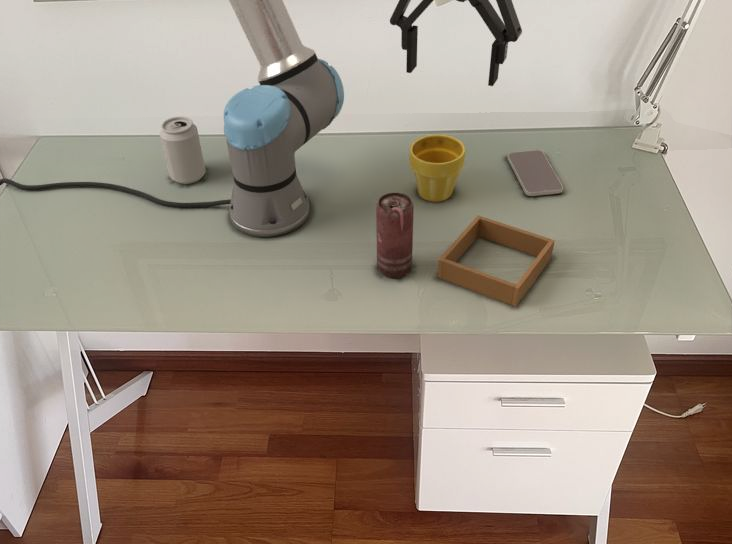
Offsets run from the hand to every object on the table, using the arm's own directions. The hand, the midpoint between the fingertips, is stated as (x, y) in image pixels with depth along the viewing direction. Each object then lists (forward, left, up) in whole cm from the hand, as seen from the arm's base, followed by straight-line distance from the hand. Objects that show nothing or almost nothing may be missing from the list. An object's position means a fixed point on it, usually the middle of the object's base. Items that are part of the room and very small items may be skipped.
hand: (451, 75), depth 121 cm
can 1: (-53, -12, -29) cm, 62 cm away
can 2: (-1, -16, -29) cm, 33 cm away
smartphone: (+8, +23, -29) cm, 38 cm away
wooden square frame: (+14, -7, -29) cm, 33 cm away
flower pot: (-6, +8, -29) cm, 31 cm away
